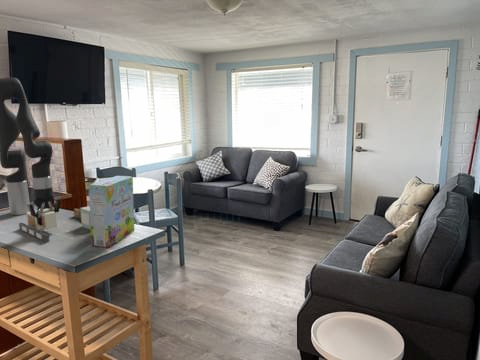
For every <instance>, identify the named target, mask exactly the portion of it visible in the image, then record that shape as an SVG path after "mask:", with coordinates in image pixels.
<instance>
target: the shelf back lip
mask: <svg viewBox="0 0 480 360" xmlns="http://www.w3.org/2000/svg"><path fill="white" fill-rule="evenodd" d="M73 217H75V218H78V219H81V210H80V208H73Z"/></svg>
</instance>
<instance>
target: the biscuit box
mask: <svg viewBox="0 0 480 360" xmlns="http://www.w3.org/2000/svg"><path fill="white" fill-rule="evenodd" d="M35 211H36V210H35ZM36 212H37V211H36ZM56 213H57V212H53V211H51V210H48V209H44V210H43V212H42V215H41V217H42V225H41V226H40V225H39V224H37V226H39V227H41V228H44V229H43V230H46V231H48V230H51V229H55V228H58V225H57V214H56ZM36 219H37V218H36Z"/></svg>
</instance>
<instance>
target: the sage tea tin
mask: <svg viewBox="0 0 480 360" xmlns="http://www.w3.org/2000/svg"><path fill="white" fill-rule="evenodd" d="M79 210H81V218H80V221H81V227H82V226H83V228H85V229H88V230H90V231H91V219H90V205H88V206H83V207H79Z"/></svg>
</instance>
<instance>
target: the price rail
mask: <svg viewBox="0 0 480 360" xmlns="http://www.w3.org/2000/svg"><path fill="white" fill-rule="evenodd" d="M18 229H19V230H20V231H21V232H23V233H26V234H28V235H31V236H32V237H34V238H37V239H38V240H40V241H43V242H45V243H49V242H50V238H49V237H50V235H49V234H48V233H46V232H43V231H41V230H37V229H35V228H32V227H30V226H28V224H26V223H24V222H19V223H18Z"/></svg>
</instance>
